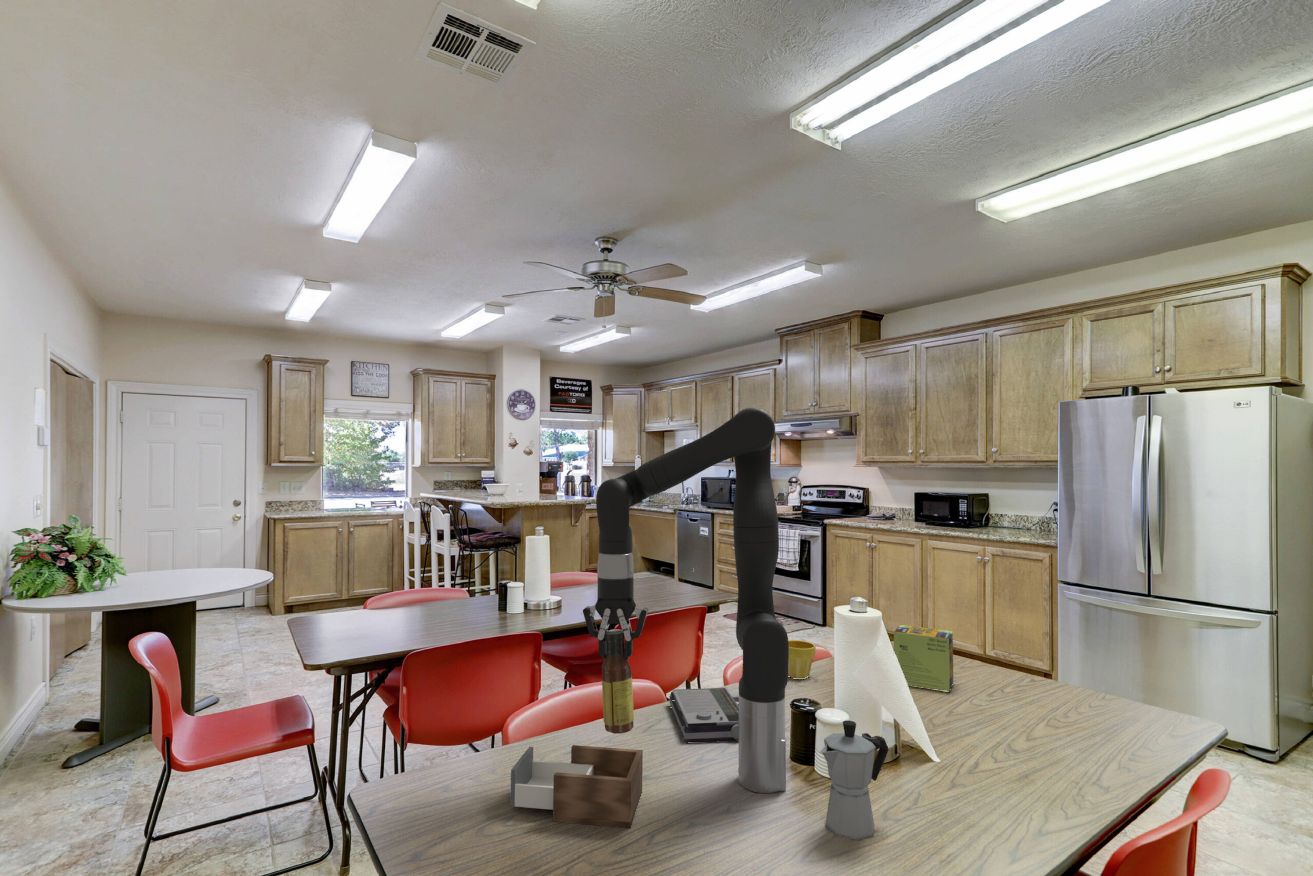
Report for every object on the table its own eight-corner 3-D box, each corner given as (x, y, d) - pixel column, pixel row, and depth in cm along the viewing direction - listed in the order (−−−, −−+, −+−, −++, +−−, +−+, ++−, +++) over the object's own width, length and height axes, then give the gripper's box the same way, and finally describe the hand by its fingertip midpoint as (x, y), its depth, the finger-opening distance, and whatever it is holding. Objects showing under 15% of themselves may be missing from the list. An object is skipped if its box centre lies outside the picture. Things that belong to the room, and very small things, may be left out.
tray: (593, 785, 124) (593, 751, 125) (580, 812, 114) (580, 775, 115) (528, 779, 126) (529, 746, 126) (510, 806, 116) (511, 769, 117)
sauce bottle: (638, 725, 134) (637, 628, 135) (627, 737, 128) (626, 636, 129) (609, 721, 136) (608, 626, 137) (597, 733, 130) (596, 633, 131)
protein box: (950, 694, 182) (949, 638, 182) (893, 684, 189) (892, 631, 190) (954, 683, 191) (953, 630, 191) (899, 674, 198) (899, 624, 199)
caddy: (642, 792, 124) (642, 750, 125) (630, 828, 112) (631, 781, 112) (572, 786, 126) (572, 745, 127) (552, 821, 114) (553, 775, 114)
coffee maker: (837, 848, 107) (836, 737, 107) (804, 821, 115) (804, 718, 115) (905, 828, 112) (904, 724, 113) (870, 804, 121) (869, 707, 121)
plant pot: (814, 672, 200) (814, 640, 200) (816, 683, 190) (816, 649, 190) (780, 670, 202) (780, 638, 202) (780, 680, 192) (780, 647, 192)
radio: (668, 687, 171) (741, 684, 173) (668, 707, 170) (741, 704, 173) (684, 722, 146) (769, 719, 149) (684, 746, 146) (769, 742, 149)
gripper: (652, 572, 137) (652, 654, 136) (586, 571, 139) (586, 651, 138) (646, 578, 129) (646, 664, 128) (577, 576, 131) (577, 661, 130)
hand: (615, 657), depth 133 cm, fingers closed on sauce bottle, 4 cm apart
